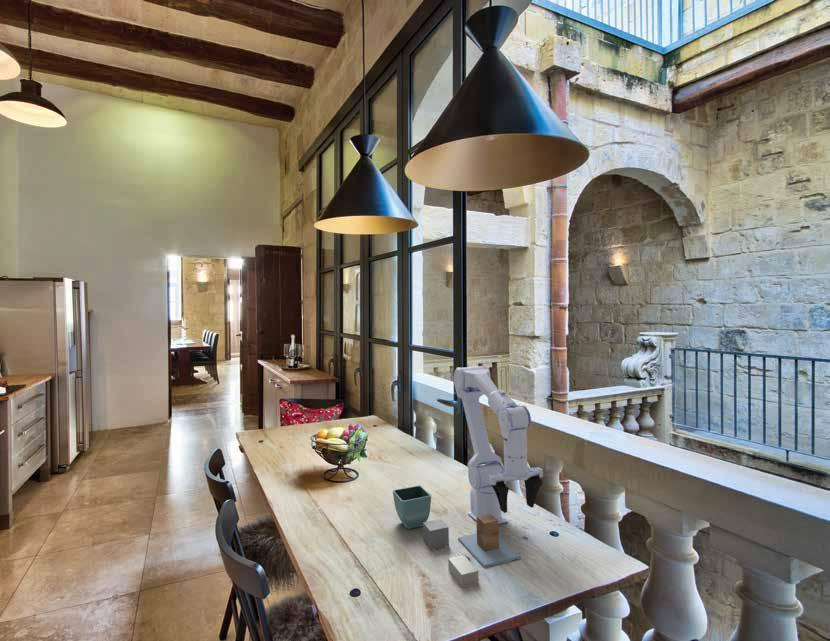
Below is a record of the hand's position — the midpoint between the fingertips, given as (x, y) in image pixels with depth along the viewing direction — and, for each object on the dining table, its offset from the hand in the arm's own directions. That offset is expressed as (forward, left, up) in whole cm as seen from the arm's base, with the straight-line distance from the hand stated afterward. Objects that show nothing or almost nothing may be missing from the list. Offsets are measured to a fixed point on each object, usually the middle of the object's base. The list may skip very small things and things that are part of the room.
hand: (517, 508), depth 113 cm
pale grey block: (+6, -19, -10) cm, 22 cm away
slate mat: (-2, -8, -9) cm, 12 cm away
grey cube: (-9, -19, -10) cm, 23 cm away
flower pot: (-22, -21, -10) cm, 31 cm away
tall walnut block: (-2, -8, -9) cm, 12 cm away
